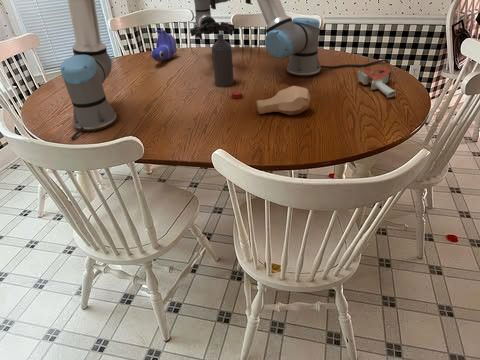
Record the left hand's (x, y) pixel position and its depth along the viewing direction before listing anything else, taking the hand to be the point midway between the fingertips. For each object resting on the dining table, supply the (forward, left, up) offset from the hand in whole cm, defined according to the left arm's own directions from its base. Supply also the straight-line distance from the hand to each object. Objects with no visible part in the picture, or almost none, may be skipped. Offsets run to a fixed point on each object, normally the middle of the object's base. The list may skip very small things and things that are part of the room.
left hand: (231, 6), depth 126 cm
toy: (+52, +40, -34) cm, 74 cm away
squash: (-16, -18, -34) cm, 42 cm away
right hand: (+25, +8, -15) cm, 30 cm away
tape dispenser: (+3, -57, -34) cm, 67 cm away
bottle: (+16, +6, -34) cm, 38 cm away
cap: (0, 0, -33) cm, 33 cm away
